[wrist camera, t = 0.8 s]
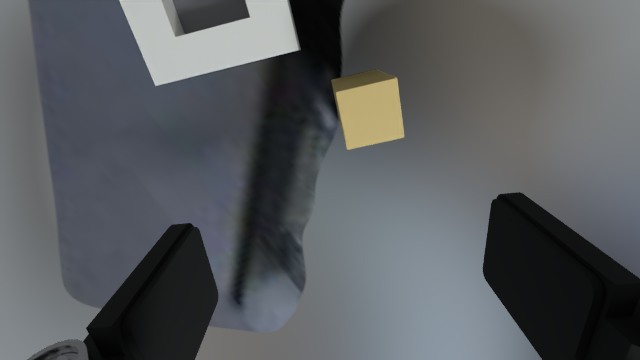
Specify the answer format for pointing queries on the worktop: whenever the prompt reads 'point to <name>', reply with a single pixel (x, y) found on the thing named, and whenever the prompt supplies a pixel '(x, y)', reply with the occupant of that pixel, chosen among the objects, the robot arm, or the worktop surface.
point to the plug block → (368, 108)
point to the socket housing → (208, 34)
